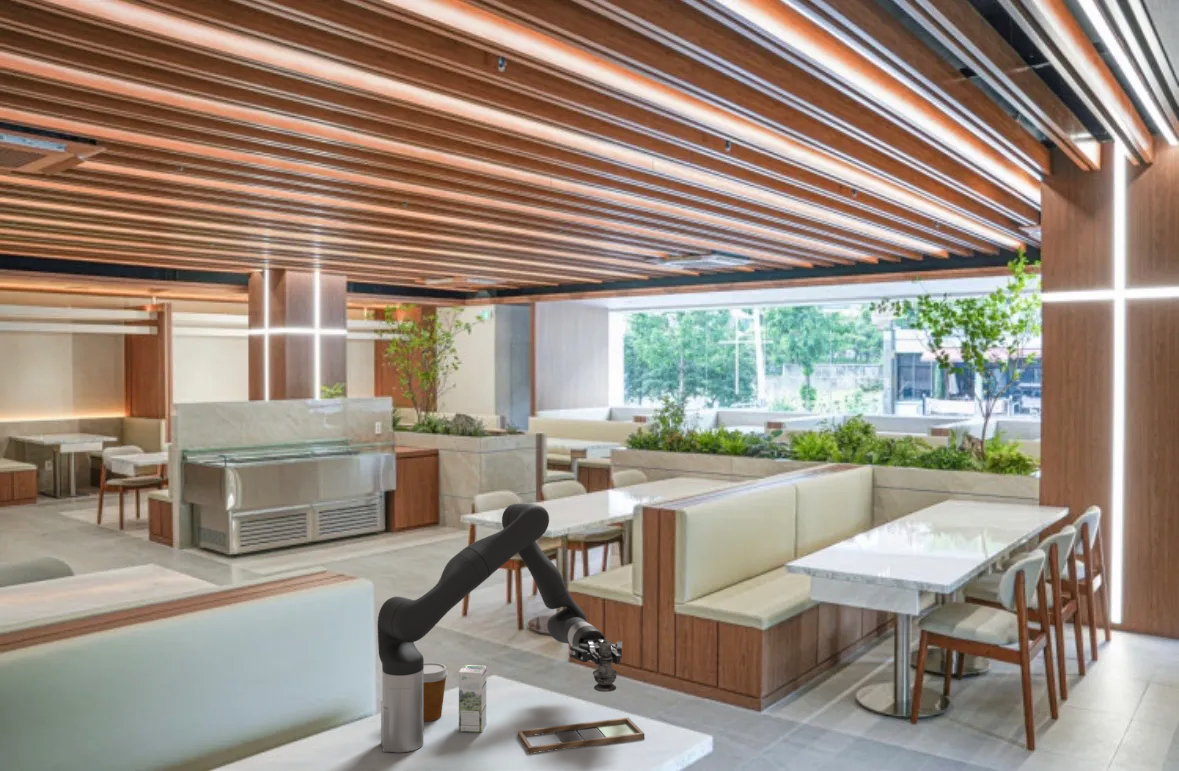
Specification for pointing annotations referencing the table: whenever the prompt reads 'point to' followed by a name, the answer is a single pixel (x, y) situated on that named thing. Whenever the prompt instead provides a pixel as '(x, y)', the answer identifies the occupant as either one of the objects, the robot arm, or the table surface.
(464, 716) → the syrup box
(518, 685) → the table surface
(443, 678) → the disposable coffee cup
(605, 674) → the salt shaker
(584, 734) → the tray
